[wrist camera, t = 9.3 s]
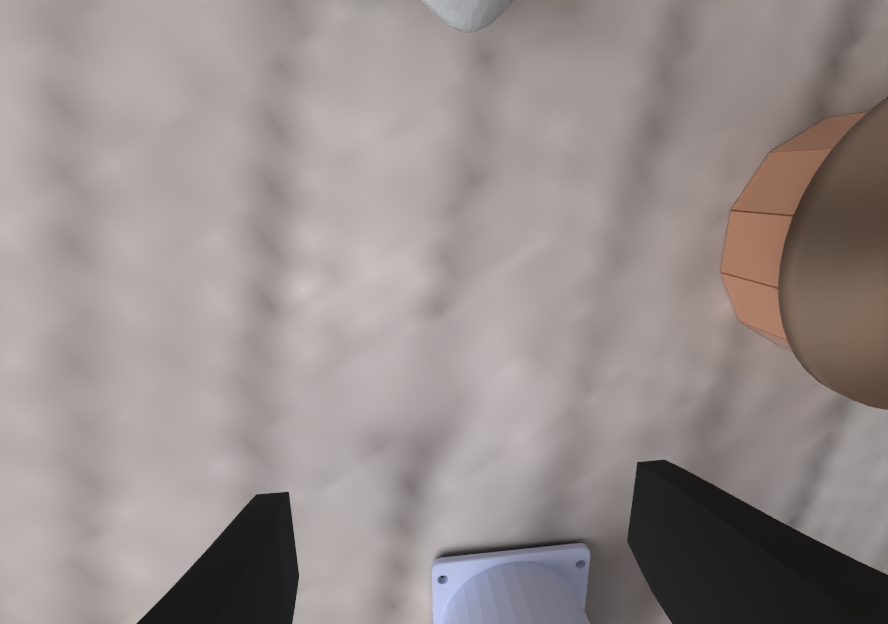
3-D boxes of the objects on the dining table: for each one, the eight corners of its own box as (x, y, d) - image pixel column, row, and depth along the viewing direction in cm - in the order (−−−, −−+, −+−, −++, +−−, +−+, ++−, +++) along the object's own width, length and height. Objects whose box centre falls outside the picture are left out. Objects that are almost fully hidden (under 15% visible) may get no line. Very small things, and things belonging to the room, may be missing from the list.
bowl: (897, 339, 22) (1003, 372, 18) (707, 350, 21) (778, 388, 17) (960, 118, 19) (1101, 103, 16) (745, 116, 18) (841, 99, 14)
